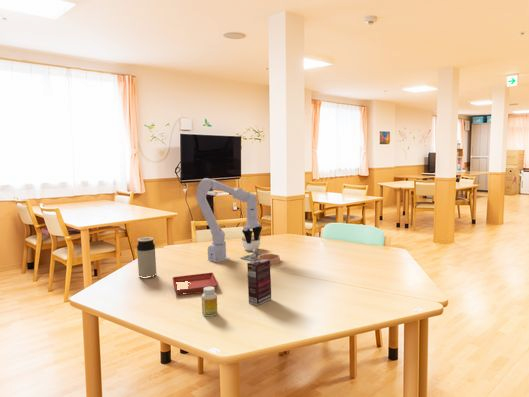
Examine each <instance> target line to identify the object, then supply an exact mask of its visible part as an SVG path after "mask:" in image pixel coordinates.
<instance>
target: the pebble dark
mask: <svg viewBox="0 0 529 397" xmlns="http://www.w3.org/2000/svg"><path fill="white" fill-rule="evenodd" d="M251 253H255V254H256V256H258V255H259V253H260V252H259V250H258V249H257V250H253V251H251Z"/></svg>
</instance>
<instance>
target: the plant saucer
mask: <svg viewBox="0 0 529 397" xmlns="http://www.w3.org/2000/svg"><path fill="white" fill-rule="evenodd" d="M185 281H188V282H190V283H191V284H190V283H188V285H189V286H188V289H180V290H177V284H176V282H185ZM172 284H173V290H174V292H175V293H176V294H177V295H179V294H183V293H191V294H195V293H194V292H200V293H204V292H203V289H204V288H205V287H209V286H211V287H214V288H215V290H216V289H217V288H218V286H220V285H219V282H218V281H217V278H216V276H215V274H214V273H213V272H205V273H197V274H188V275H177V276H173V277H172ZM183 295H184V294H183Z"/></svg>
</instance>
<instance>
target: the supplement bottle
mask: <svg viewBox="0 0 529 397" xmlns="http://www.w3.org/2000/svg"><path fill="white" fill-rule="evenodd" d="M215 291H216V289H215V288H214V287H211V286H209V287H205V288H204V289H203V292H202V295H201V312H202V313H201V314H202V315H203V316H204V317H206V316H212V317H215V316H217V314H218V294H217V293H216V292H215ZM214 315H215V316H214Z"/></svg>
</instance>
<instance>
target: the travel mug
mask: <svg viewBox="0 0 529 397" xmlns="http://www.w3.org/2000/svg"><path fill="white" fill-rule="evenodd" d="M136 240H137V245H136V253H137V266H138V267H137V270H138V277H139V276H142V277H147V276H153V275H155V274H156V275H157V262H156V259H157V258H156V245H155V243H154V240H155V238H154V237H151V236H146V237H145V236H144V237H139V238H137V239H136Z"/></svg>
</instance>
